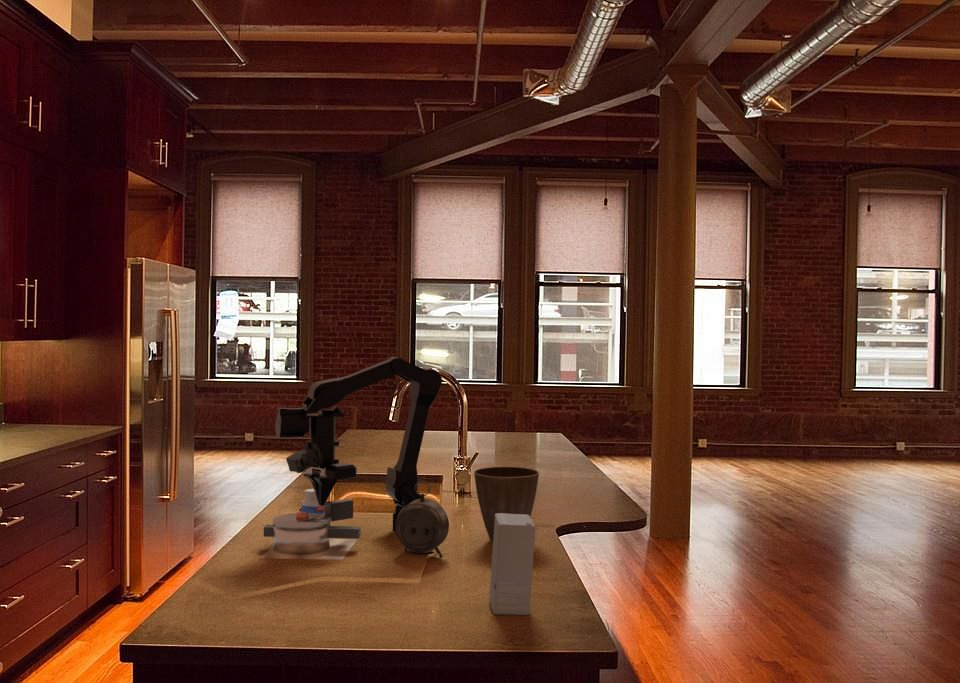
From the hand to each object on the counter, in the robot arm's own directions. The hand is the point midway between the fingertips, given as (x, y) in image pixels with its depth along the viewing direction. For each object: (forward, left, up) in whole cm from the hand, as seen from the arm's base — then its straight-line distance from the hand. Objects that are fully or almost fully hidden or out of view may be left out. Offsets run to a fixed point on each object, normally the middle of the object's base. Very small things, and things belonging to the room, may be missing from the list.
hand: (321, 505), depth 202 cm
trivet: (0, +11, -8) cm, 13 cm away
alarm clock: (-24, +13, -8) cm, 28 cm away
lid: (0, +8, -2) cm, 9 cm away
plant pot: (-42, -3, -8) cm, 43 cm away
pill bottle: (+4, -9, -8) cm, 13 cm away
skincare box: (-43, +47, -8) cm, 64 cm away
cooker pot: (0, +11, -7) cm, 13 cm away
